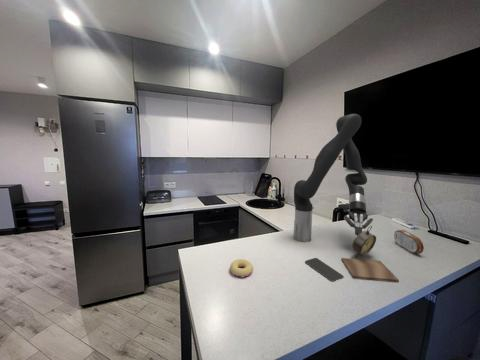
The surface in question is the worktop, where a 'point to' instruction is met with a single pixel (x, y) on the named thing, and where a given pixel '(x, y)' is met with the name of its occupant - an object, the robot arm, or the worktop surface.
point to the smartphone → (324, 269)
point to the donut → (241, 271)
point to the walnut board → (369, 270)
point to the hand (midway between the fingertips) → (358, 235)
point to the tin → (408, 241)
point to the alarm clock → (364, 242)
